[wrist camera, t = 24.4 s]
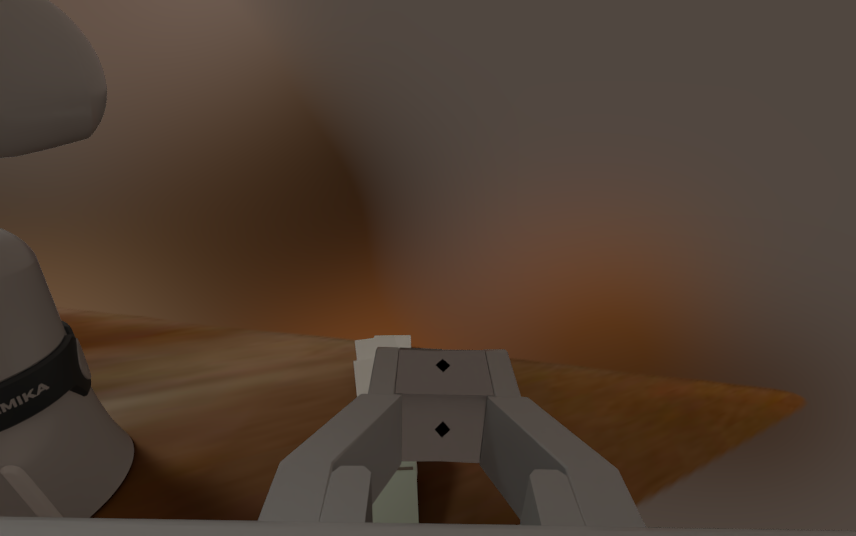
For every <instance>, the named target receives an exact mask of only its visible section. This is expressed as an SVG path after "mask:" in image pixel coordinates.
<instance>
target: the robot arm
mask: <svg viewBox="0 0 856 536" xmlns="http://www.w3.org/2000/svg"><path fill="white" fill-rule="evenodd" d="M106 100H107V86H106V80H105V76H104V72H103V69H102V66H101V63H100V61H99V58H98V56H97V54H96V52H95V50H94V49H93V47H92V45H91V44H90V42H89V41H88V39H87V38H86V37H85V35H84V34H83V33H82V31H81V30H80V29H79V28H78V27H77V26H76V24H74V22H73V21H72V20H71V19H70V18H69V17H68V16H67V15H66V14H65V13H64V12H63V11H62V10H60V9H59V8H58V7H57V6H55V5H54V4H53V3H51V2H50V1H49V0H0V158H4V157H17V156H21V155H26V154H30V153H34V152H38V151H43V150H47V149H51V148H55V147H58V146H62V145H66V144H70V143H73V142H77V141H81V140H84V139H87V138H89V137H90V136H91V135H92V134H93V133H94V131H95V130H96V128H97V127H98V125H99V124H100V122H101V119H102V117H103V115H104V111H105V107H106ZM133 456H134V445H133V442H132V439H131V438H130V436H129V435H128V434H127V433H126V432H125V431H124V430H123V429H122V428H121V427H120V426H119V425H118V424H117V423H116V422H115V421H114V420H113V419H112V418H111V416H110V415H109V414H108V412H107V411H106V410H105V408H104V407H103V405H102V404H101V402H100V401H99V399H98V398H97V396H96V394H95V393H94V391H93V389H92V387H91V373H90V370H89V367H88V364H87V362H86V359H85V356H84V353H83V351H82V348H81V346H80V343H79V341H78V339H77V338H75V336H74V334H73V331H72V329H71V327H70V326H69V325H68V324H67V323H65V322H64V321H61V319H60V316H59V314H58V311H57V309H56V306H55V303H54V301H53V298H52V296H51V293H50V291H49V288H48V286H47V283H46V281H45V278H44V275H43V273H42V270H41V268H40V265H39V263H38V260H37V258H36V256H35V253H34V252H33V251H32V249H31V248H30V247H29V246H28V245H27V244H26V243H25V242H24V241H22V240H21V239H20V238H18V237H17V236H15V235H13V234H12V233H10V232H8V231H6V230H4V229H1V228H0V536H856V531H848V530H847V531H846V530H789V529H787V530H786V529H726V528H661V527H659V528H658V527H646V526H645V524H644V522H643V520H642V518H641V516H640V514H639V512H638V510H637V508H636V506H635V504H634V501H633V499H632V497H631V495H630V493H629V491H628V489H627V487H626V485H625V483H624V481H623V479H622V477H621V475H620V473H619V471H618V469H617V468H615V467H614V466H613V465H612V464H610V463H609V462H608V461H607V460H605V459H604V458H603V457H602V456H600V455H599V454H598V453H597V452H595V451H594V450H593V449H592V448H590V447H589V446H588V445H587V444H585V443H584V442H583V441H582V440H580V439H579V438H578V437H577V436H575V435H574V434H573V433H572V432H570V431H569V430H568V429H567V428H565V427H564V426H563V425H562V424H560V423H559V422H558V421H557V420H555V419H554V418H553V417H552V416H550V415H549V414H548V413H547V412H545V411H544V410H543V409H542V408H540V407H539V406H538V405H537V404H535V403H534V402H533V401H532V400H530V399H529V398H528V397H521V395H520V392H519V389H518V385H517V382H516V379H515V375H514V372H513V369H512V366H511V362H510V359H509V356H508V352H507V351H506V350H442V349H425V348H402V347H400V348H398V347H377V349H376V352H375V358H374V363H373V368H372V374H371V379H370V385H369V390H368V394H360V395H359V396H358V397H357V398H356V399H354V400H353V401H352V402H351V403H350V404H349V405H347V406H346V407H345V408H344V409H343V410H341V411H340V412H339V413H338V414H337V415H336V416H334V417H333V418H332V419H331V420H330V421H328V422H327V423H326V424H325V425H324V426H322V427H321V428H320V429H319V430H318V431H317V432H315V433H314V434H313V435H312V436H311V437H309V438H308V439H307V440H306V441H305V442H304V443H302V444H301V445H300V446H299V447H298V448H296V449H295V450H294V451H293V452H292V453H291V454H289V455H288V456H287V457H286V458H285V459H283V460H282V461H281V462H280V464H279V467H278V469H277V472H276V474H275V477H274V480H273V482H272V485H271V487H270V490H269V493H268V495H267V498H266V500H265V503H264V506H263V508H262V511H261V513H260V516H259V519H258V521H244V520H183V519H123V518H90V517H91V516H92V515H93V514H94V513H95V512H96V511H97V510H98V509H99V508H100V507H102V506H103V505H104V503H105V502H106V501H107V500H108V499H109V498H110V497H111V496H112V495H113V494H114V492H115V491H116V490H117V489H118V487H119V486H120V485H121V483H122V482H123V480H124V479H125V477H126V475H127V473H128V471H129V469H130V467H131V464H132V461H133ZM440 460H441V461H448V462H469V463H480V466H481V467H482V469H483V470H484V471H485V473H486V474H487V475H488V477H489V478H490V479H491V481H492V482H493V483H494V485H495V486H496V488H497V489H498V490H499V492H500V493H501V494H502V496H503V497H504V498H505V500H506V501H507V502H508V504H509V505H510V506H511V508H512V509H513V510H514V512H515V513H516V514H517V516H518V517H519V518H520V520H521V521H520V525H490V524H428V523H373V515H372V505H373V503H374V502H375V500H376V499H377V498H378V496H379V495H380V493H381V492H382V490H383V489H384V488H385V486H386V485H387V483H388V482H389V481H390V479H391V478H392V476H393V475H394V474H395V472H396V471H397V469H398V468H399V466H400V465H401V461H440Z"/></svg>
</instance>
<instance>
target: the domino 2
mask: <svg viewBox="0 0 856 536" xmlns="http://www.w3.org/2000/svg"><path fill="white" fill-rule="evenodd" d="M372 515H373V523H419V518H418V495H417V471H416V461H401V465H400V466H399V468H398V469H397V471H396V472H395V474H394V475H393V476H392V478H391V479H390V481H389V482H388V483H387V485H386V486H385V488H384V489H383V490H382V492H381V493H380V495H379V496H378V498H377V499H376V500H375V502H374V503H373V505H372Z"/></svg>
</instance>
